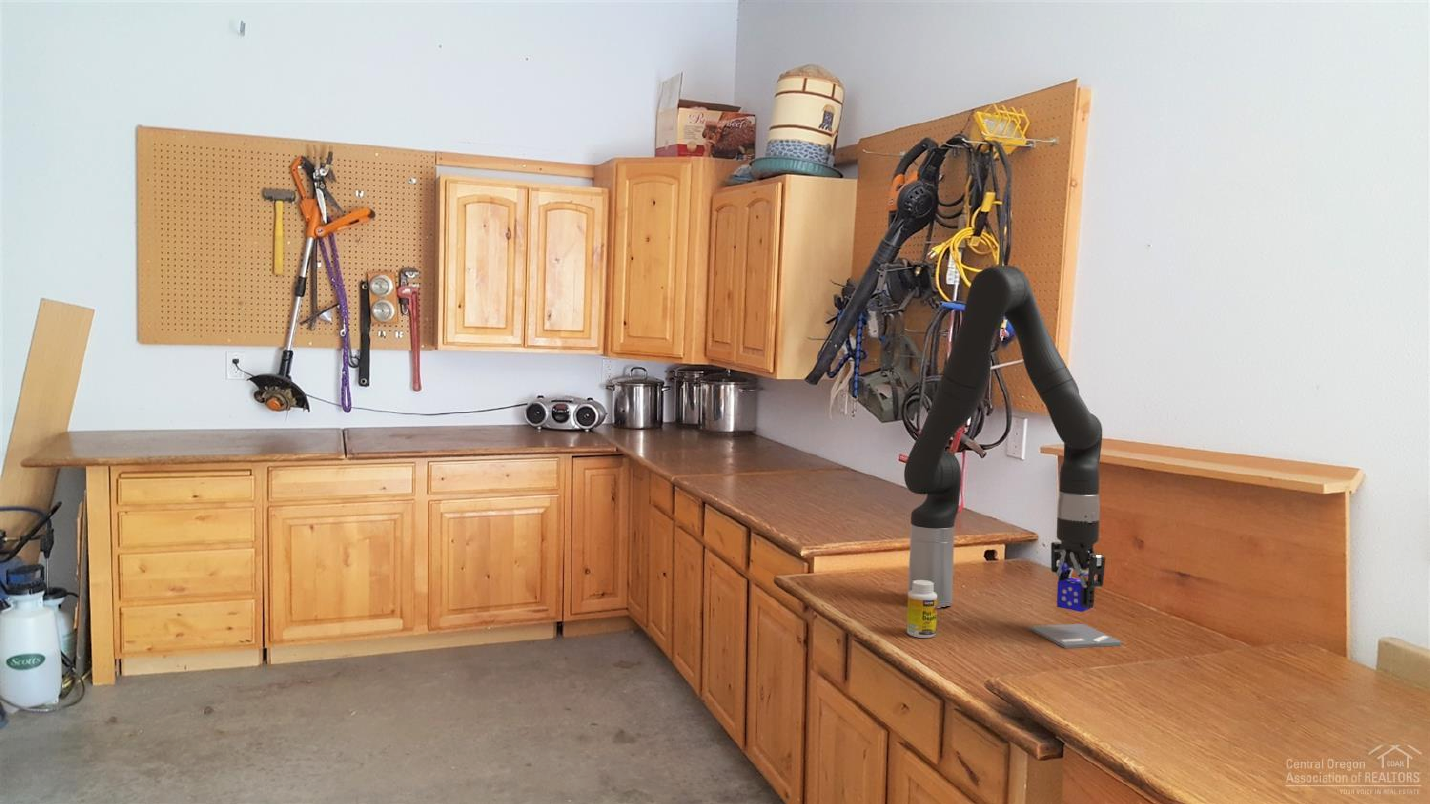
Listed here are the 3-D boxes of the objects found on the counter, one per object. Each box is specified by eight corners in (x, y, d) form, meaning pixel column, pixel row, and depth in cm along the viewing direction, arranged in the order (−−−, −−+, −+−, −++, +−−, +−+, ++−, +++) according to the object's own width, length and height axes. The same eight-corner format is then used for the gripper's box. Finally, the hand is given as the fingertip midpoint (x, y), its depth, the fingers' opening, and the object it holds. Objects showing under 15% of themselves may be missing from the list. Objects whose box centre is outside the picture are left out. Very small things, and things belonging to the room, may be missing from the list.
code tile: (1029, 629, 179) (1029, 625, 179) (1082, 626, 181) (1083, 623, 181) (1065, 648, 167) (1065, 644, 167) (1122, 645, 170) (1122, 641, 170)
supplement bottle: (921, 641, 170) (923, 587, 170) (900, 633, 175) (902, 580, 174) (942, 636, 173) (944, 583, 173) (920, 629, 178) (922, 577, 177)
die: (1067, 602, 177) (1068, 577, 177) (1093, 607, 174) (1094, 581, 174) (1056, 607, 174) (1057, 581, 174) (1082, 612, 170) (1083, 586, 170)
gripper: (1039, 510, 179) (1037, 593, 180) (1083, 523, 165) (1080, 613, 166) (1073, 510, 181) (1070, 592, 182) (1119, 522, 167) (1116, 611, 167)
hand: (1075, 602), depth 174 cm, fingers closed on die, 6 cm apart
